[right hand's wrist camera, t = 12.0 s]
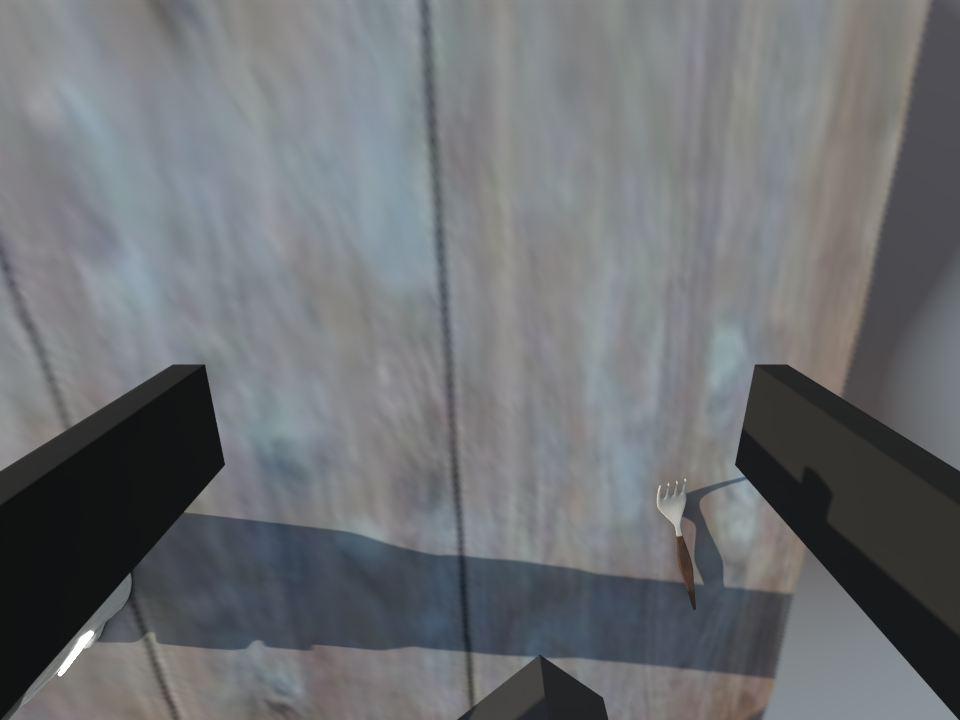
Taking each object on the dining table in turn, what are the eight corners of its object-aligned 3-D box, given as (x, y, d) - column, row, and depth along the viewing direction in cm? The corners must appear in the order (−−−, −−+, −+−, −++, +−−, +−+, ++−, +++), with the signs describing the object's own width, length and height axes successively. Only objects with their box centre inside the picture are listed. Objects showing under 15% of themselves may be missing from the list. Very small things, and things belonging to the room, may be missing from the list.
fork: (678, 608, 49) (686, 625, 47) (649, 473, 44) (657, 486, 42) (705, 602, 49) (714, 619, 47) (679, 465, 44) (688, 478, 42)
